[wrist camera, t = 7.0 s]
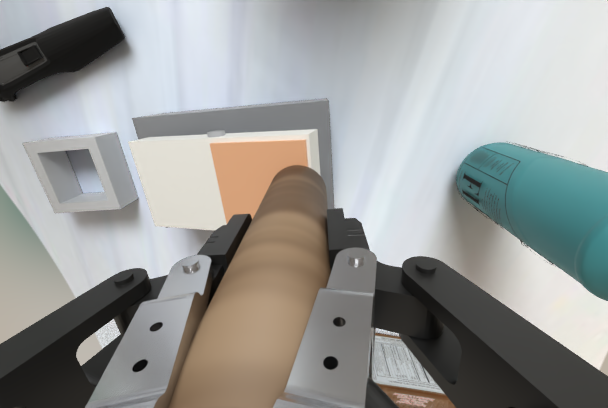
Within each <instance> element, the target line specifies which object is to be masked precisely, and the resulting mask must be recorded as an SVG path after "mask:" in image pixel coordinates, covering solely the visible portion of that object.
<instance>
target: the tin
mask: <svg viewBox="0 0 608 408" xmlns="http://www.w3.org/2000/svg"><path fill="white" fill-rule="evenodd" d="M373 381H374V382H375V383H376V384H377V385H378V386H379V387H380V388H381V389H382V390H383V391H384V392H385V393H386V394H387V395H388V396H389V397H390V398H391V400H392V401H393V402H394V403H395V404H396V405H397V406H398V407H399V408H456V407H455V406H454V404H453V403H452V402H451V401H450V400H449V398H448V397H447V396H446V395H445V393H444V392H443V391H442V390H441V388H440V387H439V386H438V385H437V383H436V382H435V381H434V380H433V378H432V377H431V376H430V375H429V374H428V372H427V371H426V370H425V369H424V367H423V366H422V365H421V364H420V362H419V361H418V360H417V359H416V357H415V356H414V355H413V354H412V352H411V351H410V350H409V349H408V348H407V346H406V345H405V344H404V343H403V341H402V340H401V338H400V337H398V336H391V335H385V334H379V333H375V350H374V369H373Z"/></svg>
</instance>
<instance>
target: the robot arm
mask: <svg viewBox="0 0 608 408" xmlns="http://www.w3.org/2000/svg"><path fill="white" fill-rule="evenodd" d="M251 221H252V217H251V215H250V214H235V215H233V216H232V217H231V219H230V220H229V222H228V223H227V225H223V226H221V227H220V228H218V229H217V230H215V231H214V232H213V234H212V235H211V236H210V238H209V239H208V240H207V242H206V243H205V244H204V246H203V247H202V249H201V250H200V251H199V253H198V254H197V255H194V256H190V257H187V258H184V259H182V260H180V261H179V262H177V263H176V264H175V265H174V266H173V267H172V268H171V270H170V272H169V275H166V276H162V277H158V278H153V279H149V277H148V274H147V271H146V270H144V269H141V268H135V269H129V270H125V271H122V272H120V273H118V274H115V275H114V276H112V277H110V278H109V279H107V280H105V281H104V282H102V283H100V284H99V285H97V286H95V287H94V288H92V289H90V290H89V291H87V292H85V293H84V294H82V295H81V296H79V297H77V298H76V299H74V300H72V301H71V302H69V303H67V304H66V305H64V306H62V307H61V308H59V309H58V310H56V311H54V312H52V313H51V314H49V315H48V316H46V317H44V318H43V319H41V320H39V321H38V322H36V323H34V324H33V325H31V326H29V327H28V328H26V329H25V330H23V331H21V332H20V333H18V334H16V335H15V336H13V337H11V338H10V339H8V340H7V341H5V342H3V343H1V344H0V408H169V406H170V403H171V400H172V397H173V394H174V391H175V388H176V385H177V382H178V379H179V376H180V373H181V371H182V368H183V365H184V362H185V360H186V357H187V354H188V351H189V349H190V346H191V342H192V338H193V336H194V334H195V332H196V331H197V329H198V326H199V324H200V322H201V320H202V318H203V316H204V314H205V312H206V310H207V308H208V306H209V304H210V302H211V300H212V298H213V296H214V294H215V292H216V290H217V288H218V286H219V284H220V282H221V280H222V278H223V276H224V274H225V273H226V271H227V269H228V267H229V265H230V263H231V261H232V259H233V257H234V255H235V253H236V251H237V249H238V247H239V245H240V243H241V241H242V239H243V237H244V235H245V233H246V231H247V229H248V227H249V225H250V223H251ZM327 224H328V241H329V257H330V269H331V274H330V277H329V281H328V284H327V287H326V288H323V287H321V288H320V289H319V291H318V294H317V297H316V300H315V303H314V306H313V309H312V312H311V315H310V318H309V321H308V324H307V327H306V330H305V333H304V335H303V338H302V341H301V344H300V347H299V350H298V353H297V356H296V359H295V362H294V365H293V368H292V371H291V374H290V377H289V380H288V383H287V385H286V388H285V390H284V392H283V393H282V394H281V395H280V396H279V397H278V399H277V400H276V402H275V404H274V406H273V408H399V407H398V406H397V405H396V404H395V403H394V402H393V401H392V400H391V398H390V397H389V396H388V395H387V394H386V393H385V392H384V391H383V390H382V389H381V388H380V387H379V386H378V385H377V384H376V383H375V382H374V381H373V369H374V350H375V332H376V328H379V329H383V330H387V331H391V332H396V333H399V336H400V338H401V340H402V341H403V343H404V344H405V345H406V346H407V348H408V349H409V350H410V351H411V352H412V354H413V355H414V356H415V357H416V359H417V360H418V361H419V362H420V364H421V365H422V366H423V367H424V369H425V370H426V371H427V372H428V374H429V375H430V376H431V377H432V378H433V380H434V381H435V382H436V383H437V385H438V386H439V387H440V388H441V390H442V391H443V392H444V393H445V395H446V396H447V397H448V398H449V400H450V401H451V402H452V403H453V404H454V406H455V407H456V408H608V376H606V375H605V374H604V373H602V372H601V371H599V370H598V369H596V368H595V367H593V366H592V365H591V364H589V363H588V362H586V361H585V360H583V359H582V358H580V357H579V356H578V355H576V354H575V353H573V352H572V351H570V350H569V349H567V348H566V347H564V346H563V345H562V344H560V343H559V342H557V341H556V340H554V339H553V338H551V337H550V336H549V335H547V334H546V333H544V332H543V331H541V330H540V329H538V328H537V327H536V326H534V325H533V324H531V323H530V322H528V321H527V320H525V319H524V318H523V317H521V316H520V315H518V314H517V313H515V312H514V311H512V310H511V309H510V308H508V307H507V306H505V305H504V304H502V303H501V302H499V301H498V300H497V299H495V298H494V297H492V296H491V295H489V294H488V293H486V292H485V291H483V290H482V289H481V288H479V287H478V286H476V285H475V284H473V283H472V282H470V281H469V280H468V279H466V278H465V277H463V276H462V275H460V274H459V273H457V272H456V271H455V270H453V269H452V268H450V267H449V266H447V265H446V264H444V263H443V262H441V261H439V260H437V259H434V258H430V257H423V256H418V257H411V258H409V259H407V260H405V261H404V263H403V265H402V268H401V267H394V266H389V265H385V264H382V263H380V262H378V261H377V257H376V255H375V254H374V253H373V252H371V251H370V249H369V246H368V243H367V240H366V237H365V233H364V230H363V227H362V224H361V222H359V221H358V220H357V219H356V218H346V219H344V214H343V209H342V208H339V209H327ZM112 319H114V320H115V322H116V324H117V326H118V329H119V331H120V333H121V335H119V336H118V337H117V338H116V339H114V340H113V341H112V342H111V343H109V344H108V345H107V346H106V347H104V348H103V349H102V350H101V351H100V352H98V353H97V354H96V355H95V356H93V357H92V358H91V359H90V360H88V361H87V362H86V363H85V364H83V365H82V366H80V364H79V362H78V360H77V358H76V352H77V349H78V347H79V346H80V344H81V343H82V342H83V341H84V340H85V339H86V338H88V337H89V336H90V335H92V334H93V333H95V332H96V331H97V330H99V329H100V328H101V327H103V326H104V325H105V324H107V323H108V322H110V321H111V320H112Z"/></svg>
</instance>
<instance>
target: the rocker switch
mask: <svg viewBox="0 0 608 408" xmlns="http://www.w3.org/2000/svg"><path fill="white" fill-rule="evenodd" d="M128 143H129V146H130V149H131V152H132V156H133V159H134V162H135V165H136V168H137V171H138V174H139V177H140V180H141V183H142V187H143V190H144V193H145V196H146V199H147V202H148V205H149V208H150V211H151V214H152V218H153V221H154V224H155V226H161V227H175V228H188V229H201V230H217V229H218V228H220V227H221V226H223V225H227V223H228V222H229V220H230V219H231V217H232V216H233V215H235V214H250V215H251V217H252V219H253V217H254V215H255V213H256V212H257V210H258V208H259V206H260V204H261V202H262V200H263V198H264V196H265V194H266V192H267V190H268V188H269V186H270V184H271V182H272V180H273V178H274V177H275V175H276V174H277V173H278V172H279V171H281V170H282V169H284V168H286V167H289V166H293V165H302V166H306V167H309V168H311V169H313V170H315V171H316V172H317V173H318V174H319V175H320V161H319V146H318V131H317V129H308V130H287V131H266V132H245V133H225V130H216V131H210V132H207V134H203V135H183V136H162V137H147V138H143V139H139V140H134V141H130V142H128Z"/></svg>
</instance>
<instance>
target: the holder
mask: <svg viewBox="0 0 608 408" xmlns="http://www.w3.org/2000/svg"><path fill="white" fill-rule="evenodd" d="M22 144H23V146H24V148H25V150H26V152H27V154H28V156H29V159H30V161H31V163H32V165H33V167H34V169H35V172H36V174H37V176H38V178H39V180H40V182H41V184H42V187H43V189H44V191H45V193H46V195H47V197H48V199H49V202H50V204H51V206H52V208H53V210H54V212H55V213H67V212H82V211H98V210H114V209H122V208H123V207H125V206H127V205H128V204H130V203H132V202H133V201H135V200H136V199H138V195H137V192H136V189H135V186H134V183H133V180H132V177H131V174H130V171H129V169H128V166H127V163H126V160H125V157H124V154H123V151H122V148H121V145H120V142H119V139H118V136H117V133H116V132H113V133H102V134H90V135H79V136H67V137H55V138H48V139H42V140H37V141H31V142H26V143H22ZM79 149H89V152H90V154H91V157H92V160H93V162H94V165H95V168H96V170H97V173H98V175H99V178H100V181H101V183H102V186H103V189H104V191H105V192H96V193H82V190H81V188H80V185H79V183H78V180H77V178H76V176H75V173H74V171H73V168H72V166H71V163H70V161H69V159H68V156H67V154H66V151H67V150H79Z"/></svg>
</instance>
